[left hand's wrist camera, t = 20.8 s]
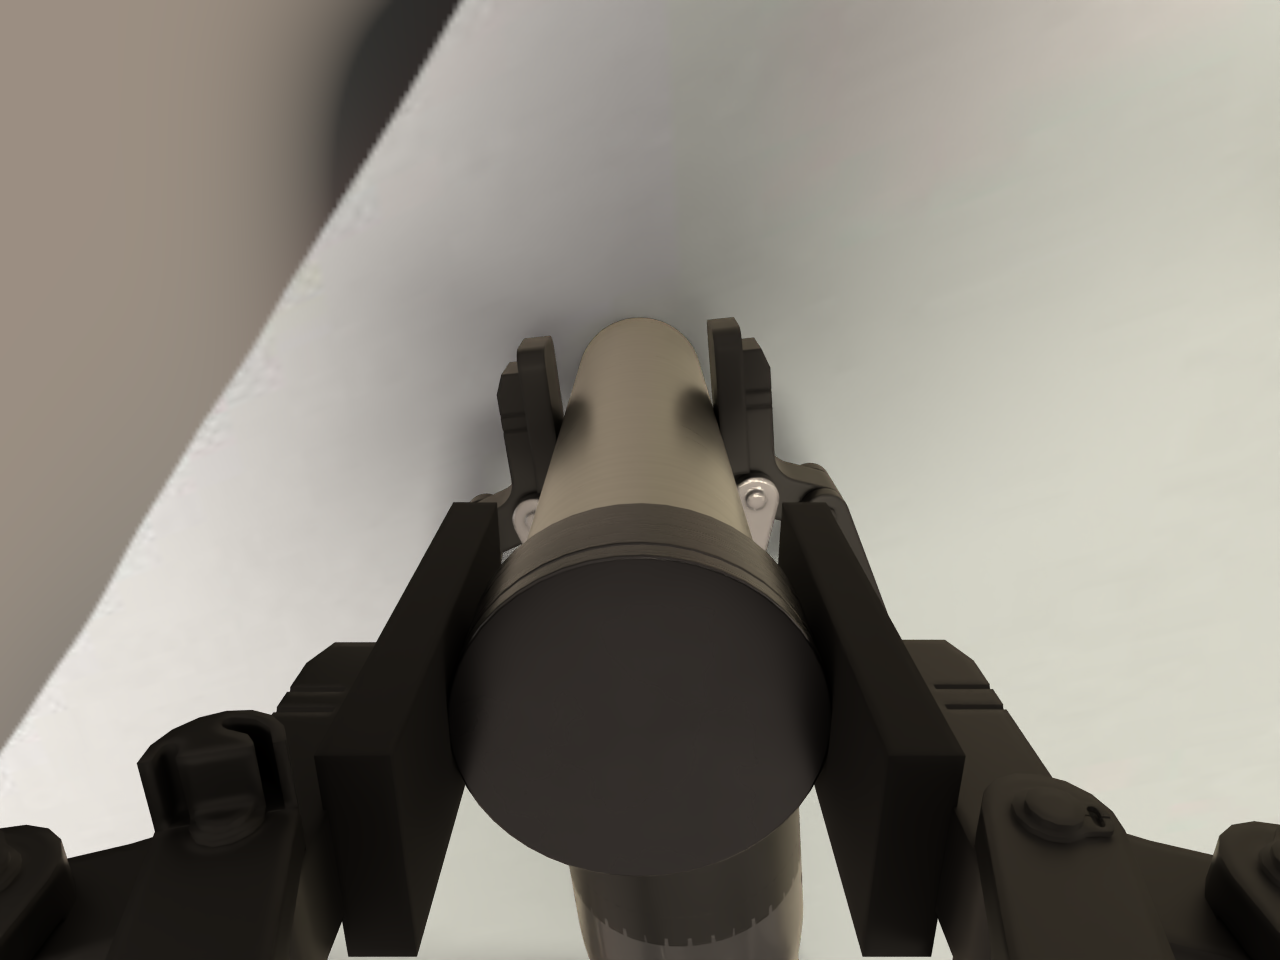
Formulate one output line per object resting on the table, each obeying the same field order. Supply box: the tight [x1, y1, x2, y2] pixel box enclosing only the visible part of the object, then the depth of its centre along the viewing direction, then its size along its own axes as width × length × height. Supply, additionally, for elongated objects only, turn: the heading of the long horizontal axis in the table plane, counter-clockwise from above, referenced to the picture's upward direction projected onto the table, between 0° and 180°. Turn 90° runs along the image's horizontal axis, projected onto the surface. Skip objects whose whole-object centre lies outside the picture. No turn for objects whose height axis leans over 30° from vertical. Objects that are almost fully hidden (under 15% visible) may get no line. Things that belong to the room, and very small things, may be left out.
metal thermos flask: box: [527, 318, 753, 540], centre depth 20 cm, size 4×4×18 cm
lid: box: [447, 503, 832, 877], centre depth 11 cm, size 5×5×2 cm
